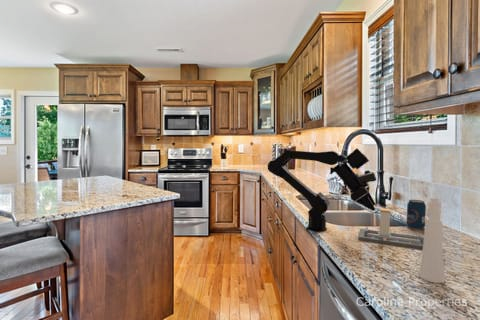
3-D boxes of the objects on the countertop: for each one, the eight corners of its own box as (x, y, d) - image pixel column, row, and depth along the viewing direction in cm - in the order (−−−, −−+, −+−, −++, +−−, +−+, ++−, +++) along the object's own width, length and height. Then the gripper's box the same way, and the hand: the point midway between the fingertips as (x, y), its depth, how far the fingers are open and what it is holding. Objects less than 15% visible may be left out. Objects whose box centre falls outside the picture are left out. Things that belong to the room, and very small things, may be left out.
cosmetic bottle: (413, 275, 76) (416, 196, 75) (427, 271, 78) (430, 195, 77) (436, 285, 70) (440, 200, 69) (450, 280, 73) (454, 199, 72)
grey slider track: (358, 239, 104) (358, 232, 104) (360, 231, 115) (360, 224, 115) (434, 251, 94) (434, 242, 93) (428, 240, 104) (428, 232, 104)
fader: (378, 236, 105) (378, 209, 104) (377, 233, 108) (378, 207, 108) (391, 238, 103) (391, 211, 102) (390, 235, 106) (391, 209, 106)
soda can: (402, 226, 123) (403, 200, 123) (412, 224, 126) (413, 198, 126) (418, 230, 117) (419, 202, 116) (428, 228, 120) (429, 201, 119)
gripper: (363, 166, 100) (394, 200, 96) (365, 162, 116) (391, 191, 113) (339, 184, 104) (367, 217, 101) (344, 177, 121) (368, 206, 117)
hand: (374, 207), depth 108 cm, fingers open, 9 cm apart
